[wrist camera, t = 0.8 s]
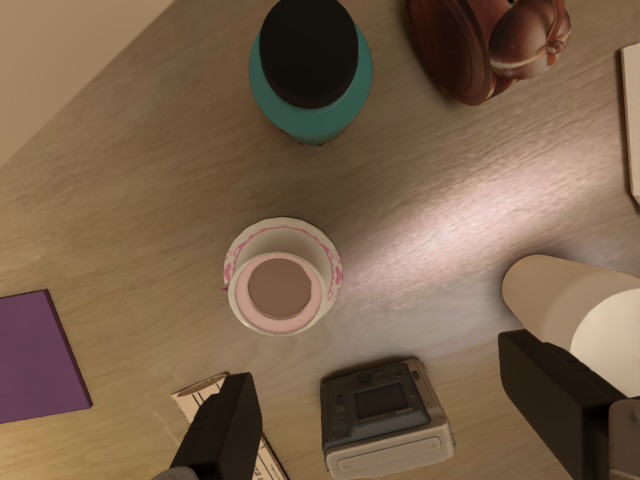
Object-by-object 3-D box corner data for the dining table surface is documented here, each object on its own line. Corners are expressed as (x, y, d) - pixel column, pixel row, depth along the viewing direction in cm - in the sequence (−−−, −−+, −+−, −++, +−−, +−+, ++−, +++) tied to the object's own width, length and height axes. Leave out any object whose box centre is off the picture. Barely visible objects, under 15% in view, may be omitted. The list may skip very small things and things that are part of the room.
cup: (564, 328, 38) (672, 405, 27) (481, 321, 38) (553, 395, 26) (587, 246, 36) (715, 291, 25) (499, 238, 36) (586, 280, 24)
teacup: (345, 217, 35) (351, 231, 29) (339, 329, 38) (344, 362, 32) (222, 214, 35) (203, 226, 29) (226, 326, 38) (208, 359, 32)
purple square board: (-64, 309, 37) (-70, 312, 37) (47, 288, 37) (43, 291, 36) (-10, 422, 41) (-14, 426, 40) (93, 404, 40) (90, 408, 40)
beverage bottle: (293, 156, 34) (261, 163, 14) (266, 85, 32) (192, -15, 13) (358, 132, 33) (417, 104, 14) (335, 58, 32) (364, -87, 13)
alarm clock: (492, 86, 33) (635, 33, 18) (446, 117, 33) (547, 90, 19) (434, -29, 30) (542, -196, 16) (385, 6, 31) (447, -124, 16)
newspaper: (316, 525, 44) (316, 540, 43) (264, 543, 45) (262, 559, 43) (228, 370, 39) (224, 381, 38) (171, 394, 40) (164, 405, 38)
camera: (328, 413, 41) (331, 496, 31) (315, 370, 39) (315, 441, 30) (428, 392, 40) (463, 468, 30) (418, 346, 39) (453, 412, 29)
